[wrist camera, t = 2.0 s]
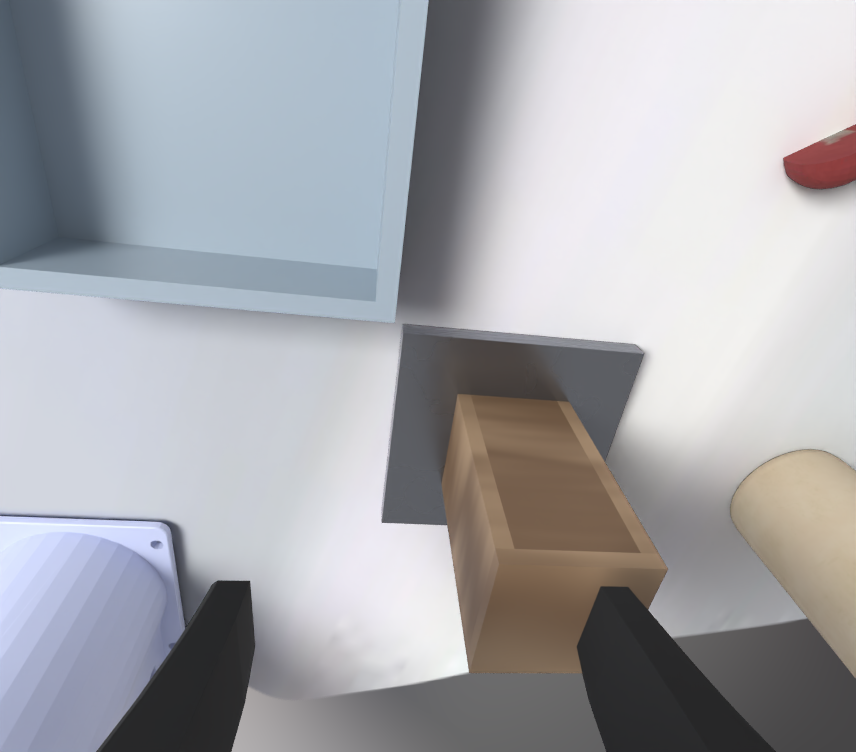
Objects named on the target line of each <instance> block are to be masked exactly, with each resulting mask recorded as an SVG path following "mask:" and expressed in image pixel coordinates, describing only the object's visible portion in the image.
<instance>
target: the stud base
mask: <svg viewBox="0 0 856 752" xmlns="http://www.w3.org/2000/svg"><path fill="white" fill-rule="evenodd" d="M643 355H644V353H643V352H642V351H641V350H640V349H639V348H638V347H637V346H636V345H635V344H625V343H614V342H602V341H591V340H579V339H568V338H557V337H545V336H534V335H522V334H511V333H500V332H488V331H477V330H465V329H454V328H443V327H431V326H420V325H408V324H403V325H402V333H401V342H400V351H399V360H398V369H397V378H396V387H395V395H394V404H393V413H392V422H391V431H390V440H389V449H388V457H387V466H386V475H385V484H384V493H383V502H382V523H404V524H430V525H447V518H446V512H445V505H444V498H443V491H442V478H443V473H444V467H445V462H446V456H447V451H448V445H449V440H450V434H451V428H452V423H453V417H454V412H455V406H456V401H457V395H458V394H466V395H480V396H494V397H508V398H522V399H536V400H550V401H564V402H570V404H571V406H572V407H573V409H574V411H575V412H576V414H577V416H578V417H579V419H580V421H581V423H582V424H583V426H584V428H585V429H586V431H587V433H588V434H589V436H590V438H591V440H592V441H593V443H594V445H595V446H596V448H597V450H598V451H599V453H600V455H601V456H602V458H603V460H604V462H605V460H606V457H607V454H608V452H609V449H610V446H611V443H612V441H613V438H614V435H615V432H616V430H617V427H618V424H619V421H620V419H621V416H622V413H623V410H624V408H625V405H626V402H627V399H628V397H629V394H630V391H631V388H632V386H633V383H634V380H635V377H636V375H637V372H638V369H639V366H640V364H641V361H642V358H643Z"/></svg>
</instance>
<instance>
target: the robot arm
mask: <svg viewBox="0 0 856 752" xmlns="http://www.w3.org/2000/svg"><path fill="white" fill-rule="evenodd" d="M157 541H160V542H157ZM254 649H255V640H254V626H253V613H252V600H251V587H250V581H217V582H215V583H214V584H212V586H211V588H210V589H209V591H208V593H207V595H206V596H205V598H204V600H203V601H202V603H201V605H200V606H199V608H198V610H197V611H196V613H195V614H194V616H193V618H192V619H191V621H190V622H189V624H188V625H187V627H186V629H185V624H184V617H183V610H182V603H181V597H180V590H179V583H178V577H177V570H176V563H175V556H174V550H173V543H172V536H171V530H170V528H169V527H168V526H167V525H166V524H164V523H161V522H147V521H120V520H93V519H66V518H38V517H11V516H0V752H231V751H232V747H233V743H234V740H235V736H236V733H237V729H238V726H239V722H240V718H241V715H242V711H243V708H244V704H245V699H246V693H247V688H248V683H249V678H250V672H251V666H252V661H253V655H254ZM577 651H578V656H579V660H580V665H581V669H582V674H583V678H584V682H585V686H586V691H587V695H588V699H589V702H590V704H591V708H592V711H593V714H594V717H595V719H596V722H597V725H598V729H599V731H600V734H601V737H602V740H603V743H604V746H605V749H606V752H776V751H775V750H774V749H773V748H772V747H771V746H770V745H769V744H768V743H767V742H766V741H765V740H764V739H763V738H762V737H761V736H760V735H759V734H758V733H757V732H756V731H755V730H754V729H753V728H752V727H751V726H750V725H749V724H748V722H747V721H745V719H744V718H743V717H742V716H741V715H740V714H739V713H738V712H737V711H736V710H735V709H734V708H733V707H732V706H731V704H730V703H729V702H728V701H727V700H726V699H725V698H724V697H723V696H722V695H721V694H720V692H718V690H717V689H716V688H715V687H714V686H713V685H712V684H711V683H710V681H709V680H708V679H707V678H706V677H705V676H704V675H703V673H702V672H701V671H700V670H699V669H698V668H697V667H696V666H695V664H694V663H693V662H692V661H691V660H690V659H689V658H688V656H687V655H686V654H685V653H684V652H683V651H682V649H681V648H680V647H679V646H678V645H677V644H676V642H675V641H674V640H673V639H672V638H671V637H670V635H669V634H668V633H667V632H666V631H665V630H664V628H663V627H662V626H661V625H660V624H659V623H658V621H657V620H656V619H655V618H654V617H653V615H652V614H651V613H650V612H649V611H648V610H647V608H646V607H645V606H644V605H643V604H642V602H641V601H640V600H639V599H638V598H637V597H636V595H635V594H634V593H633V592H632V591H631V590H630V588H629V587H616V586H601V587H600V589H599V592H598V594H597V597H596V599H595V602H594V604H593V607H592V609H591V612H590V614H589V617H588V619H587V622H586V624H585V627H584V629H583V632H582V634H581V637H580V639H579V642H578V644H577Z"/></svg>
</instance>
